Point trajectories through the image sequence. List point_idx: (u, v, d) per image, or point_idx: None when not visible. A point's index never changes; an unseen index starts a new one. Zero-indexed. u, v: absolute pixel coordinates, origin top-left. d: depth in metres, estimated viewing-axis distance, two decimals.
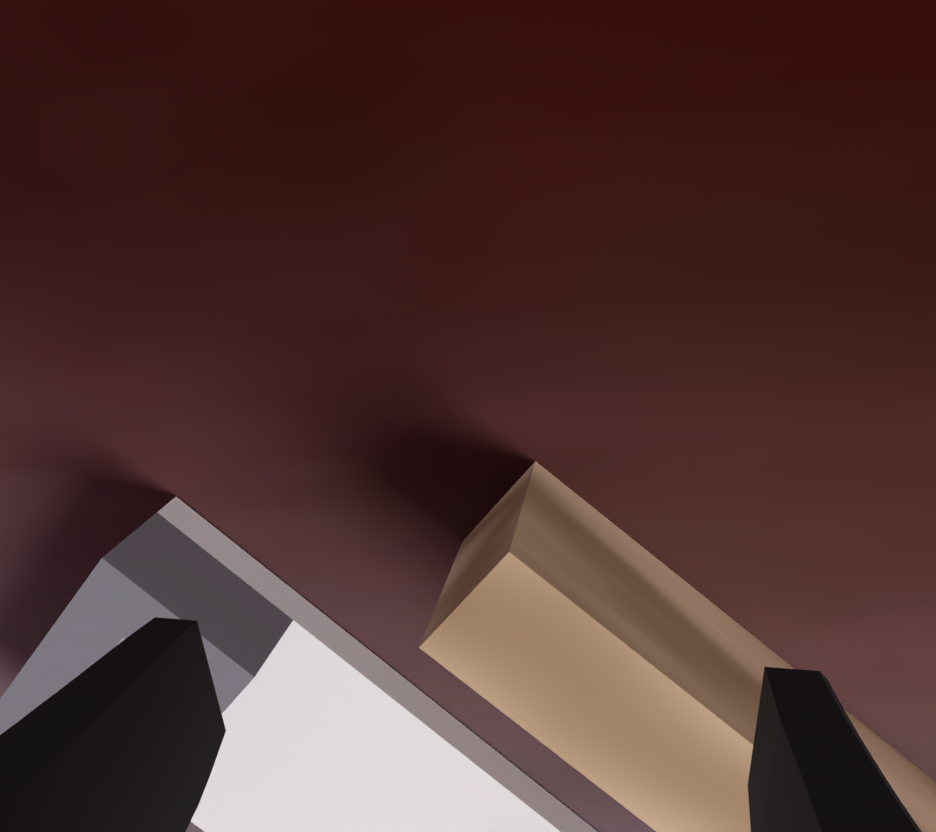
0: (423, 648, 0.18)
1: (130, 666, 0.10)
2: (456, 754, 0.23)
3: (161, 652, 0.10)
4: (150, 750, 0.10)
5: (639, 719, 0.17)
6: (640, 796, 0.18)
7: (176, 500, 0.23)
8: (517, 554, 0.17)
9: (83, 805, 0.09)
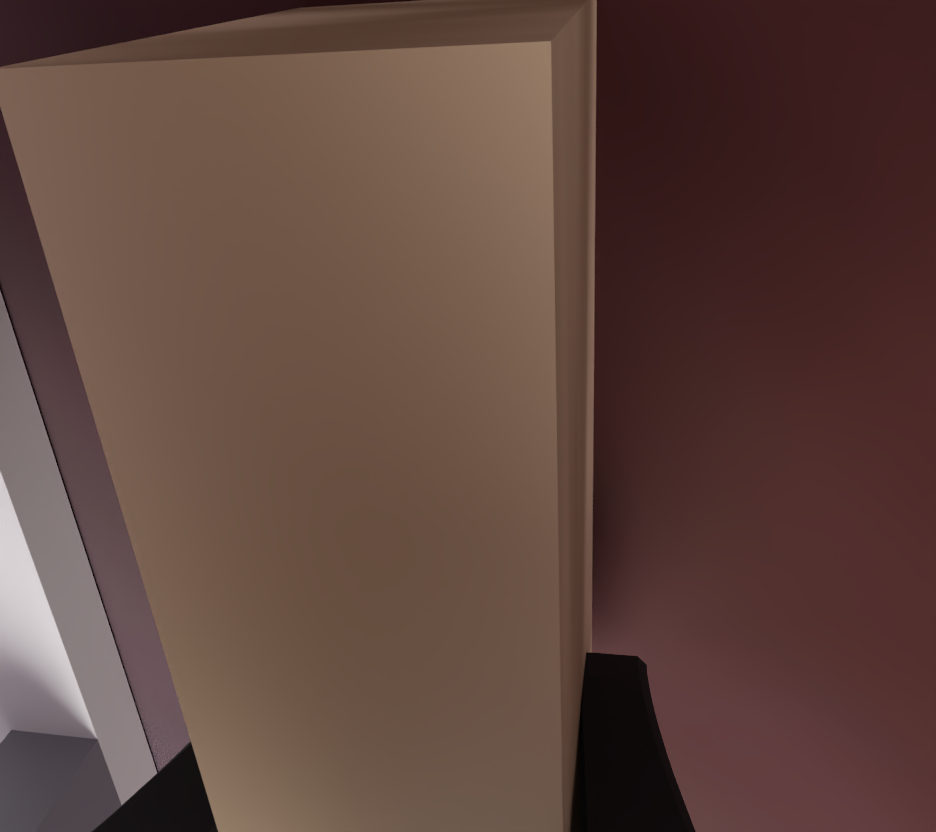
0: (2, 85, 0.05)
1: None
2: None
3: None
4: None
5: (402, 687, 0.06)
6: (253, 786, 0.07)
7: None
8: (554, 80, 0.04)
9: None
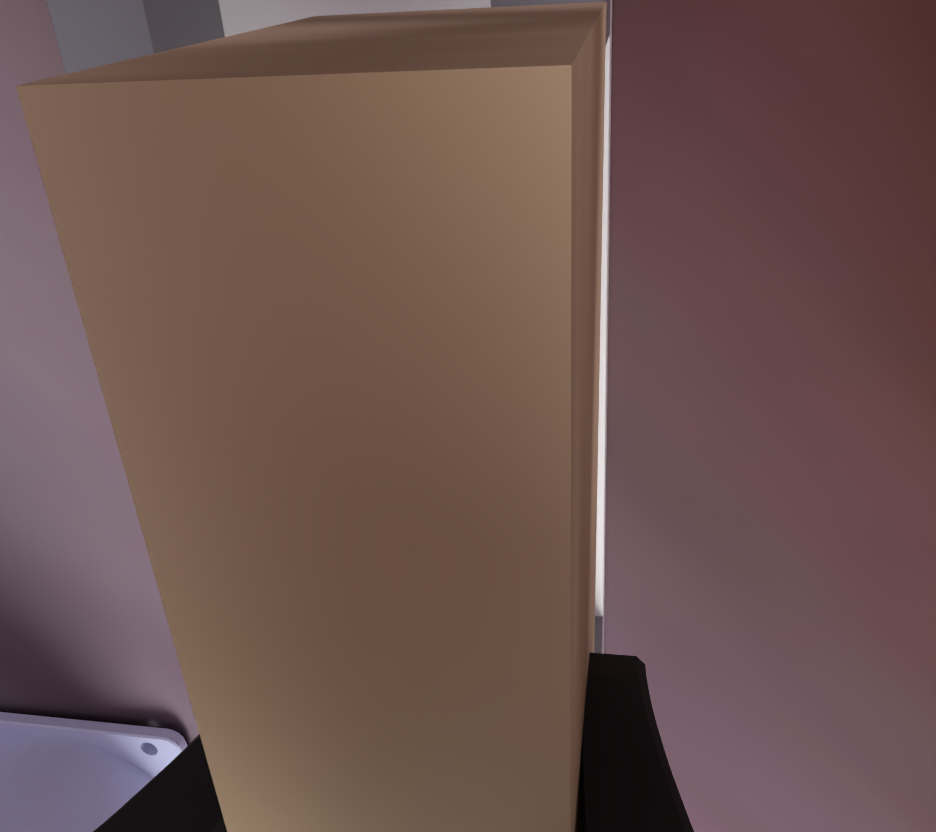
0: (28, 101, 0.05)
1: None
2: None
3: None
4: None
5: (413, 694, 0.06)
6: (263, 789, 0.07)
7: None
8: (573, 100, 0.04)
9: None
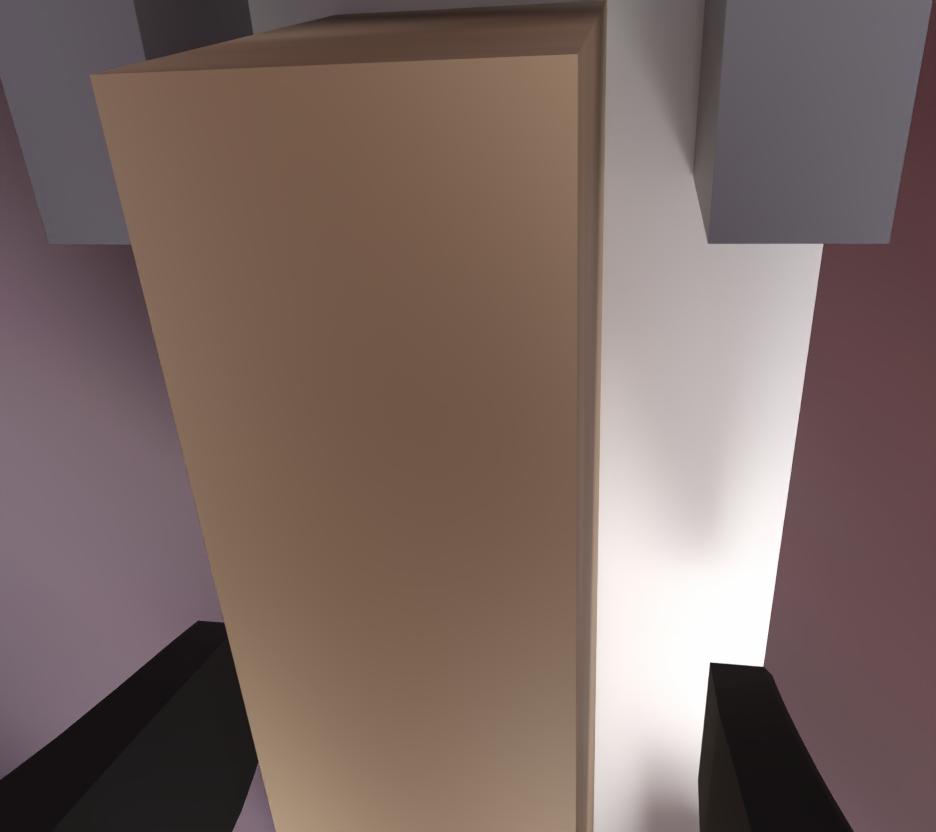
0: (99, 89, 0.05)
1: (178, 670, 0.10)
2: (766, 580, 0.12)
3: (208, 656, 0.10)
4: (198, 755, 0.10)
5: (434, 628, 0.07)
6: (294, 723, 0.08)
7: None
8: (578, 87, 0.05)
9: (136, 812, 0.09)
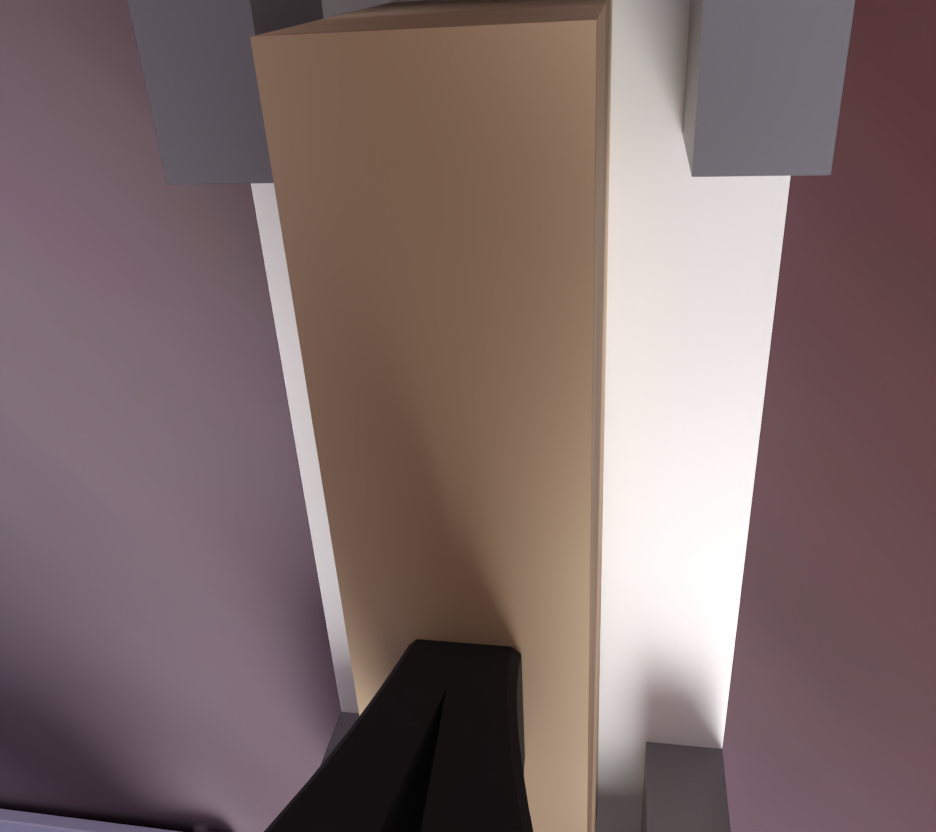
0: (256, 47, 0.08)
1: (424, 693, 0.09)
2: (746, 482, 0.15)
3: (447, 677, 0.10)
4: None
5: (482, 464, 0.09)
6: (369, 553, 0.10)
7: None
8: (596, 43, 0.07)
9: None
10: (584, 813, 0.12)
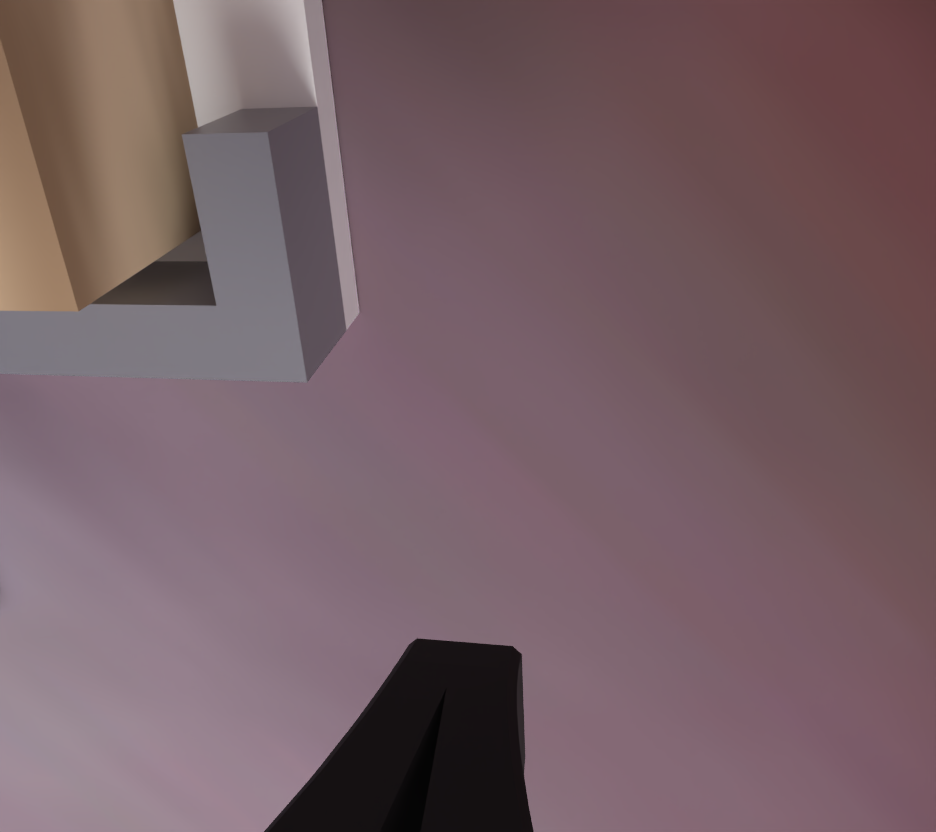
0: None
1: (425, 693, 0.09)
2: None
3: (447, 677, 0.10)
4: None
5: None
6: None
7: None
8: None
9: None
10: None
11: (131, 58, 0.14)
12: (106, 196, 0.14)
